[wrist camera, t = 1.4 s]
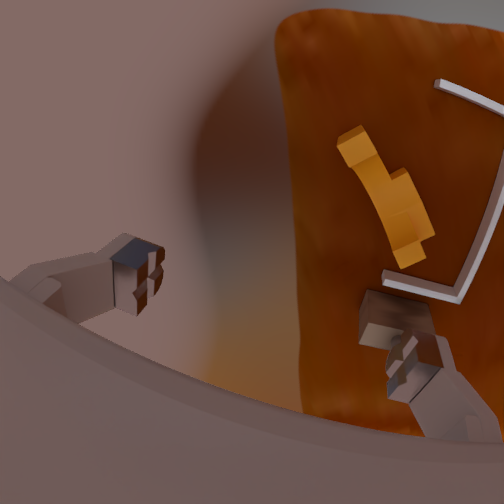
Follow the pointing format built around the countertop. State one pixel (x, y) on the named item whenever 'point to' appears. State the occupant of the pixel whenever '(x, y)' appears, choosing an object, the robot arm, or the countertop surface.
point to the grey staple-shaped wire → (499, 196)
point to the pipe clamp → (389, 197)
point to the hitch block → (390, 319)
